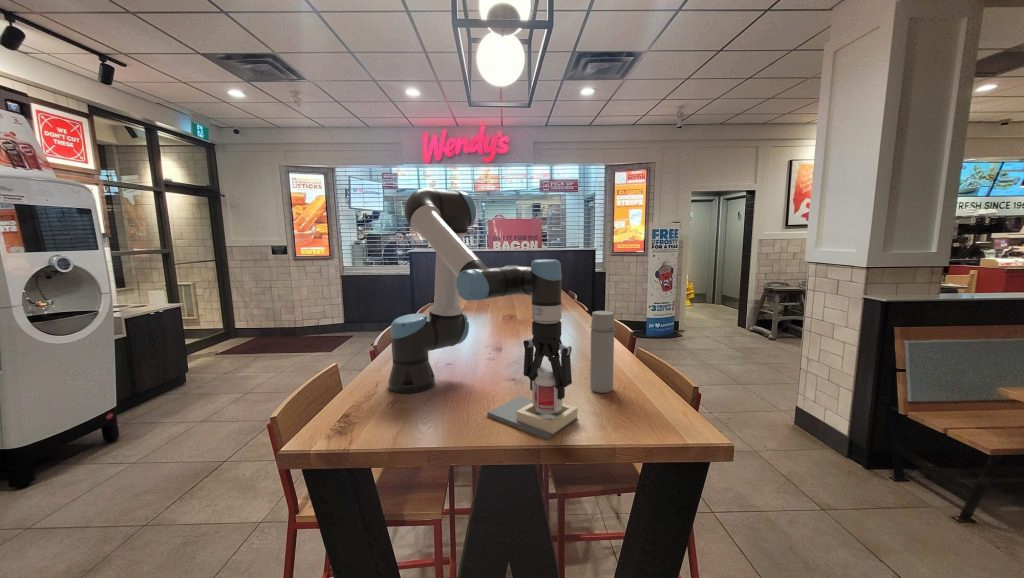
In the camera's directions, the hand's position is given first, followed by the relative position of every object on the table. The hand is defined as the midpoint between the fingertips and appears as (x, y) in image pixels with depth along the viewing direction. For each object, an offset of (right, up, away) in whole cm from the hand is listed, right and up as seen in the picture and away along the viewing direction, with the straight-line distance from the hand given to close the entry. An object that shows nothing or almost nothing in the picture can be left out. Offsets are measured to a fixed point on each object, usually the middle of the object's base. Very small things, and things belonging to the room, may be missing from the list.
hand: (547, 406), depth 102 cm
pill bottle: (0, -1, 0) cm, 1 cm away
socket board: (-4, -4, +4) cm, 7 cm away
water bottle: (+20, -1, +23) cm, 30 cm away
